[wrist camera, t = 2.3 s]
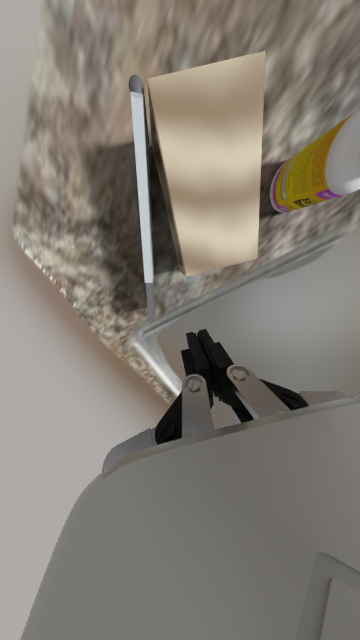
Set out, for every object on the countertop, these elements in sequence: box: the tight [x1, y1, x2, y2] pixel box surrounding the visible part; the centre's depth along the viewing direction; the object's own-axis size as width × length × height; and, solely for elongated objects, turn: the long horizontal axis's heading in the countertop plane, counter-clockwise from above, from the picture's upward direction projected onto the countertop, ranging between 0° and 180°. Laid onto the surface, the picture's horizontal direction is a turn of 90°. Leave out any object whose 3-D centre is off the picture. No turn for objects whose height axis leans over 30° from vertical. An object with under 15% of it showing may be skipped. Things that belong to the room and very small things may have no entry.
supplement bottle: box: [270, 109, 360, 213], centre depth 17 cm, size 7×7×13 cm
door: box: [129, 75, 155, 322], centre depth 19 cm, size 23×1×6 cm, turn 178°
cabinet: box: [148, 51, 265, 277], centre depth 18 cm, size 16×10×8 cm, turn 13°
